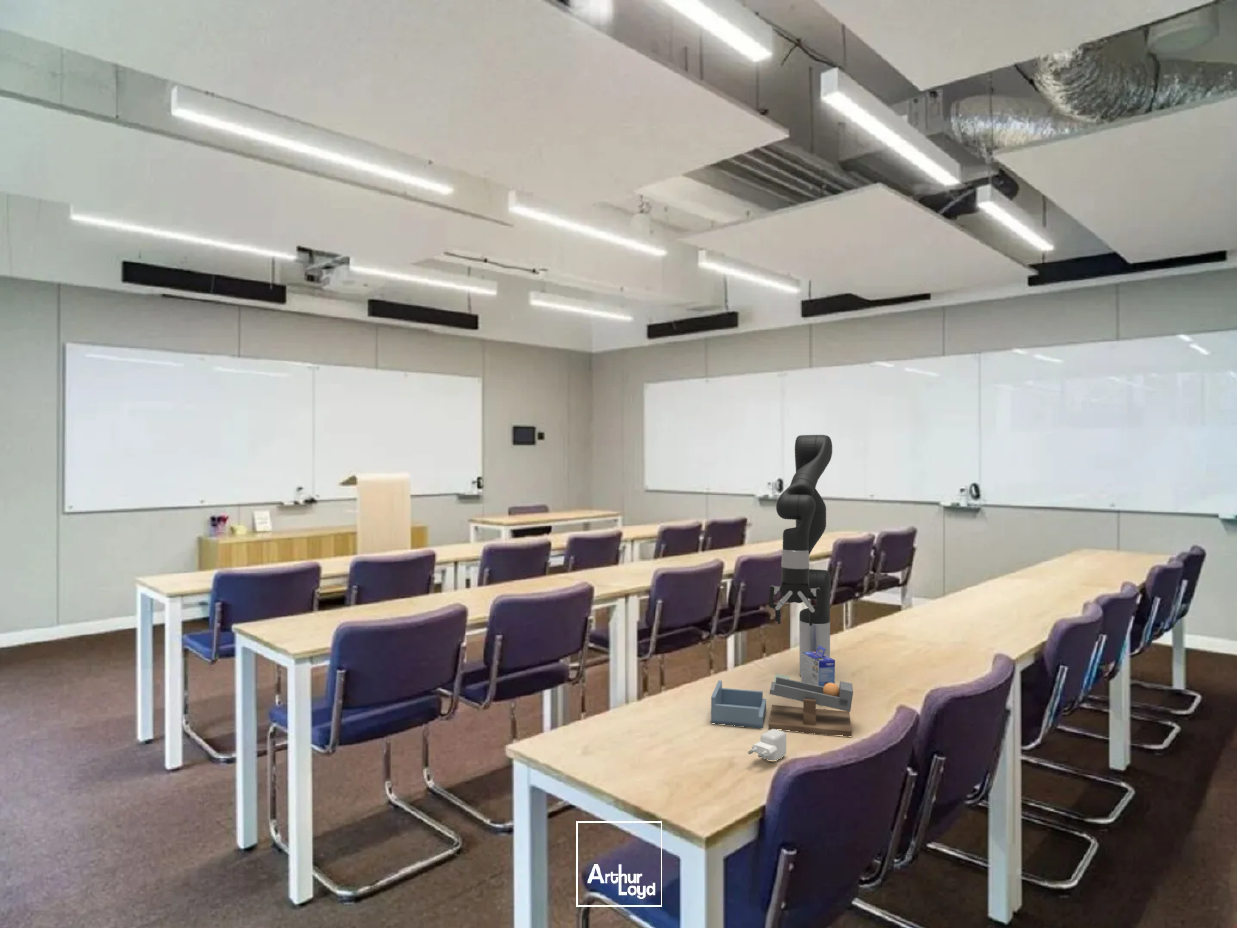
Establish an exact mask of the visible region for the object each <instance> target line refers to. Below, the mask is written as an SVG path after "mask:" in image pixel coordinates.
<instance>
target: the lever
mask: <svg viewBox="0 0 1237 928" xmlns="http://www.w3.org/2000/svg"><path fill="white" fill-rule="evenodd" d="M823 688H824V687H823V686H818V685H813V684H809V683H804V682H801V681H798V680H794V679H791V676H790V675H787V674H786V675H785V674H780V673H775V674H774V679H773V681H771V684H770V688H769V695H771V696H776V697H780V698H786V699H789V700H790V699H791V700H794V701H800V702H803V699H815V700H816V706H822V707H825V708H831V709H835V710H838V711H848V712H849V713H850V712H851V710H852V704H853V703H852V702H853V695H854V687H853V683H852V682H847V681H842V680H839V685H838V688H839V695H838V697H836V696H831V695H826V694H824V693H823Z"/></svg>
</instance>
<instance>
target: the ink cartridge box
mask: <svg viewBox="0 0 1237 928" xmlns="http://www.w3.org/2000/svg"><path fill="white" fill-rule="evenodd" d="M819 649H822V650H823V653H821V652H819ZM825 651H826V649H825V648H823V647H821V646H819V647H818V649H817V650H816V652H802V671H801V677H800V678H801V679H800V682H804V683H809V684H813V685H818V686H823V687H824V686H825V685H826V684H827V683H834V684H836V683H835V682H836V681H835V680H836V679H835V678H836V659H835V658H832V657H831V656H830V657H828V656H825V655H824V653H825Z"/></svg>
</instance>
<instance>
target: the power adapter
mask: <svg viewBox="0 0 1237 928" xmlns="http://www.w3.org/2000/svg"><path fill="white" fill-rule="evenodd" d="M759 740H760V741H758V742H756V743H754V744H753V745H752V746H751V749H750V750H749V751H748V752H747V754H748V755H751V754H753V753H755V754H758V756H757V757H758V758H761V757H762V758H765V759H768V760H777V759H779V758H781V757H782V756H784V755H785V754H786V755H787V733H786V731H780V730H777V729H771V730H769V729H768V730H767V731H766V732H764V733H762V734H761V735H760V739H759ZM786 755H785V756H786ZM785 756H784V757H785ZM762 758H761V759H762ZM781 759H782V758H781Z"/></svg>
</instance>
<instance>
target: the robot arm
mask: <svg viewBox="0 0 1237 928" xmlns="http://www.w3.org/2000/svg"><path fill="white" fill-rule="evenodd" d="M794 443H795V444H794V461H795V462H794V464H795V473H794V475H793V476H792V479H791V481H790V485H789V486H788V487H787V488H786V489H785V490H784V491H783V492H781V494H780V495H779V497H778V499H777V501H776V505H775V506H776V507H775V509H776V513H777V515H778V516H779V517H780V518H781V519H783V520H794V521H795V527H789V528H785V529H784V530H783V532H782V552H781V576H780V577H781V584H780V586H777V585H776V586H775V585H773V584H771V585H770V587H769V598H768V607H769V608H770V609H774V611H775V616H774V618H775V619H774V620H775V622H777V624H778V625H781V621H782V620H781V618H782V615H781V613H782V610H781V608H782V607H783V606H784V604H786V602H788V603H789V604H792V603H797V604H802V603H804V605H805V606H806V607H807V608H803V609H802V610H800V611H799V617H798V618H799V620H798V622H799V625H798V626H799V632H798V633H799V675H800V674H801V671H802V652H816V650H817V649H818V647H819V646H821V647H823V648H825V649H826V651H825V653H824V655H825V656H828V657H830V658H831V588H832V582H831V581H832V580H831V574H830V572H829V571H828V570H826V569H815V568H814V569H813V568H810V555H811V553H812V551H813V549H814V548H815V546H816V545H817V543H818V542H819V540H820V539H821V537H822V536H823V535H824V532H825V530H826V527H827V506H826V503H825V501H824V500H823V497H822V496H821V495H820V493H819V492H818V490H817V489H816V487H817V484H818V482H819V479H820V478H821V476H822V475H823V473H824V472H825V470H826V469H827V467H828V465H829V463H830V461H831V459H832V456H833V442H832V439H831V437H830V436H829V435H826V434H800V435H797V437H796V438H795V442H794ZM778 592H780V593H781V595H782V597H781V599H780V600H779V601H778V602H777V603H775V602H774V601H775V595H776V594H778ZM810 600H816V604H815V605H813V604H812V603H811V601H810ZM819 652H821V653H823V650H822V649H819Z"/></svg>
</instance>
